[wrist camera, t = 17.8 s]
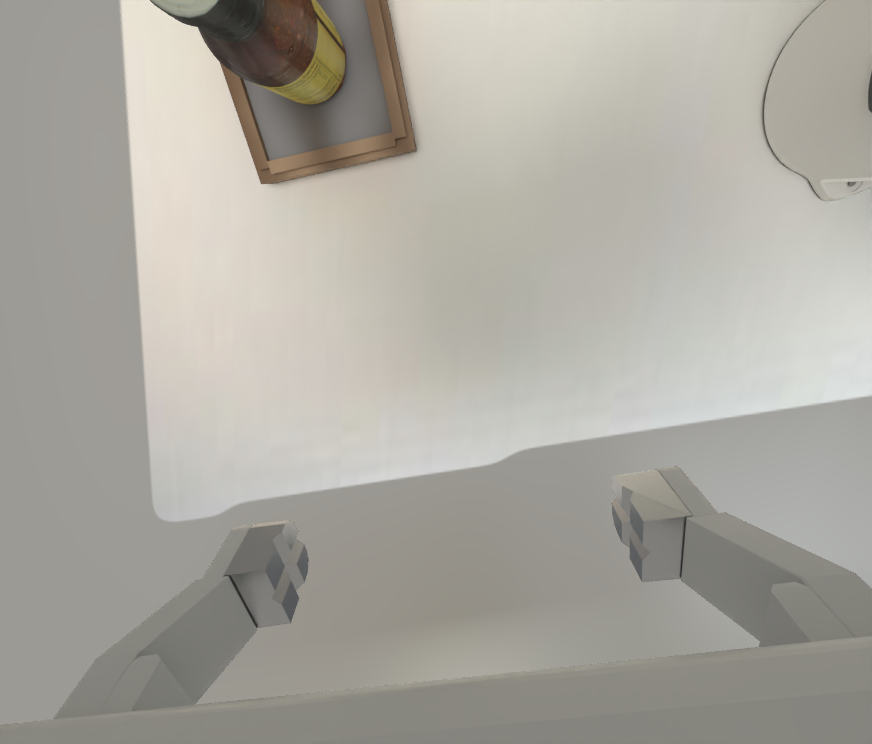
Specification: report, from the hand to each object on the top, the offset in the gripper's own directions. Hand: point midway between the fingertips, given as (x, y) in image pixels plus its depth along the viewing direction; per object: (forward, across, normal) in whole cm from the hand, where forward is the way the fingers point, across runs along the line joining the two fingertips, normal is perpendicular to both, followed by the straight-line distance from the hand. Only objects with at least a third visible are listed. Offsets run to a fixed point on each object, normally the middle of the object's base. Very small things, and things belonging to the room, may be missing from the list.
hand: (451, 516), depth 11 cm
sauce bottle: (+33, +8, -18) cm, 38 cm away
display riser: (+36, +8, -18) cm, 41 cm away
